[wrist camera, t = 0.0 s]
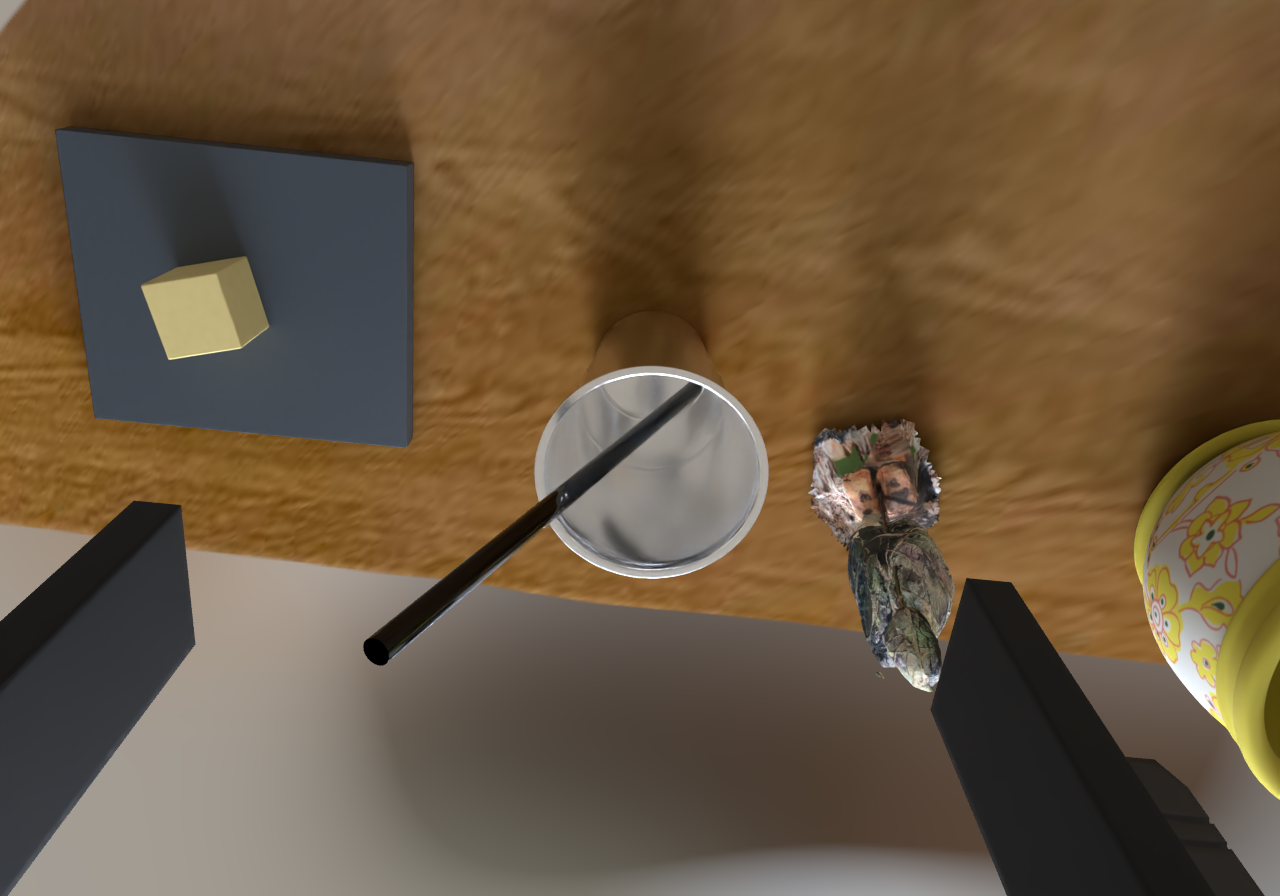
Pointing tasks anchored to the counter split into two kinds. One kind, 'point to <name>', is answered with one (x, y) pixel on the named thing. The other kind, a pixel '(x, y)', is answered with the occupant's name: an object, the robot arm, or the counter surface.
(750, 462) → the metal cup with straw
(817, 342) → the counter surface
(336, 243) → the tray
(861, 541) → the decorative sculpture
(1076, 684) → the robot arm
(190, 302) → the pale yellow cube
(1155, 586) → the flowerpot
